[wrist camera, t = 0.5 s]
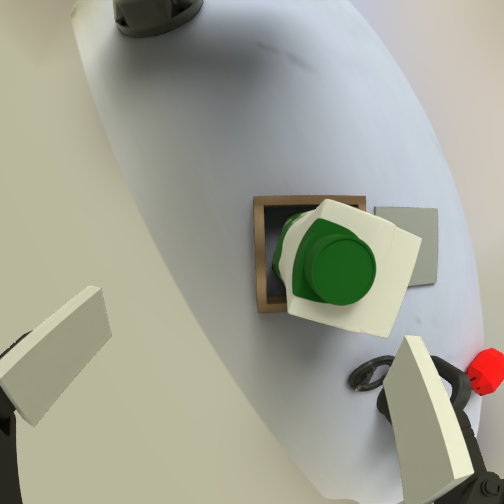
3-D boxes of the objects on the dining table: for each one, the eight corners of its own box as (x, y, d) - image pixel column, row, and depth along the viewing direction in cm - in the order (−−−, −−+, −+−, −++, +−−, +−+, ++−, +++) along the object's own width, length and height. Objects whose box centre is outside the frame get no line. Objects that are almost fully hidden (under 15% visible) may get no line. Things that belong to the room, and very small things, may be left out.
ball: (458, 369, 37) (481, 386, 30) (483, 338, 37) (508, 351, 29) (467, 388, 38) (488, 405, 30) (491, 359, 37) (513, 372, 30)
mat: (374, 206, 34) (375, 206, 34) (435, 208, 34) (437, 208, 34) (373, 288, 35) (375, 289, 35) (434, 281, 35) (436, 282, 35)
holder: (253, 199, 34) (253, 196, 30) (353, 198, 34) (365, 195, 30) (256, 303, 35) (258, 313, 31) (353, 297, 35) (365, 305, 31)
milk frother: (413, 409, 38) (453, 456, 23) (334, 424, 38) (361, 487, 23) (434, 340, 36) (491, 378, 22) (351, 349, 36) (396, 406, 21)
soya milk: (283, 205, 34) (330, 180, 14) (349, 228, 35) (449, 234, 15) (262, 273, 35) (279, 333, 15) (327, 293, 35) (405, 360, 15)
